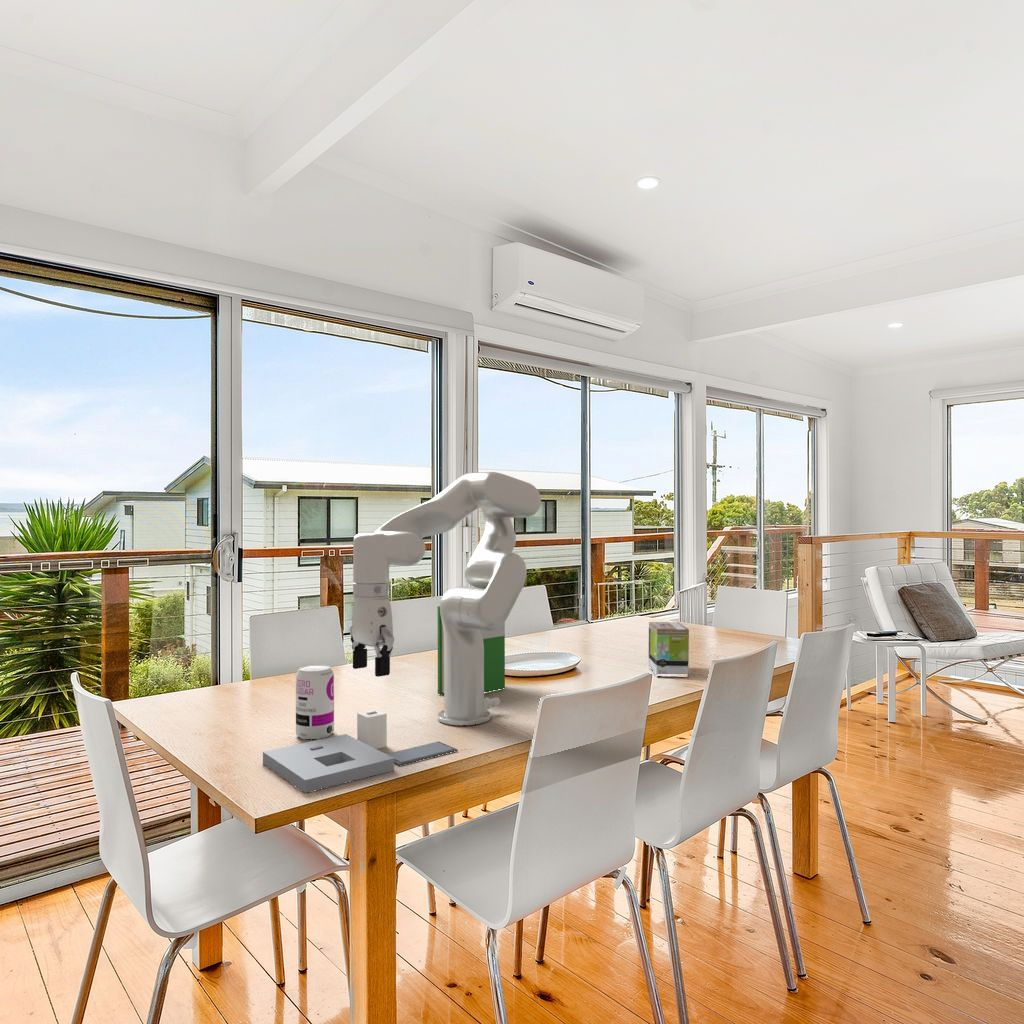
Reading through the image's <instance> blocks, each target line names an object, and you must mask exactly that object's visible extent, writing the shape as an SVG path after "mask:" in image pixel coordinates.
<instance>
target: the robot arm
mask: <svg viewBox="0 0 1024 1024" xmlns="http://www.w3.org/2000/svg"><path fill="white" fill-rule="evenodd" d="M541 498H542V497H541V495H540V492H539V490H538V489H537V487H536V486H534V485H533V484H532V483H530V482H527V481H525V480H521V479H519V478H516V477H513V476H510V475H507V474H504V473H501V472H497V471H482V472H480V471H479V472H468V473H465V474H463V475H461V476H459V478H457V479H456V480H454V481H453V482H452V483H450V484H449V485H448V486H447V487H445V488H444V489H443V490H442V491H440V492H439V493H438V494H435V496H434V497H432V498H431V499H429V500H428V501H425V502H423V503H420V504H418V505H417V506H415V507H413V508H411V509H408V510H406V511H405V512H402V513H400V514H398V515H396V516H394V517H392V518H391V519H390V520H388V521H386V523H384V524H382V526H380V527H379V528H377V530H375V531H374V532H361V533H357V534H355V536H354V537H353V539H352V541H353V542H352V544H353V545H352V547H353V548H352V550H353V551H352V555H353V556H352V558H353V559H352V567H353V568H352V569H353V570H352V573H353V574H352V576H353V577H352V578H353V579H352V590H353V591H352V599H354V600H353V608H352V620H351V621H352V623H351V626H350V627H349V634H350V642H351V650H352V669H354V670H357V669H364V668H368V648H366V646H367V647H370V648H371V647H372V648H374V651H375V654H376V656H375V657H374V676H375V677H377V678H378V677H385V676H389V675H390V673H391V656H392V651H393V650H394V647H393V645H394V643H395V637H394V631H393V630H394V628H393V624H394V623H393V613H392V606H391V601H390V600H391V599H390V566H399V567H409V566H414V565H416V564H418V563H419V562H421V561H422V559H423V558H424V556H425V554H426V544H425V541H424V540H423V538H427V537H432V536H436V535H440V534H441V535H442V534H444V533H447V532H449V531H452V530H453V529H454V528H456V527H457V525H459V524H460V523H461V522H463V521H464V520H465V519H466V518H468V516H470V515H472V513H474V512H475V511H476V510H477V509H480V508H481V512H482V514H483V515H482V516H483V520H484V532H483V534H482V536H481V537H480V540H479V543H478V544H477V546H476V548H475V550H474V551H473V553H472V555H471V556H470V559H469V560H468V563H466V564H467V565H466V567H465V570H464V578H465V581H466V582H467V583H468V584H469V585H470V586H471V587H470V586H455V587H451V588H449V589H448V590H447V591H445V592H444V594H443V595H442V597H441V599H440V601H439V603H440V604H439V606H440V615H441V620H442V625H443V632H444V695H443V696H444V697H443V699H444V702H443V703H444V704H443V705H444V707H443V708H444V709H442V710H441V711H440V712H439V713H437V720H438V721H439V722H441V723H443V724H445V725H450V726H459V727H460V726H461V727H462V726H463V725H466V726H475V724H476V725H480V724H484V723H486V722H488V721H489V720H490V719H491V712H490V711H489V710H488V709H490V708H491V707H496V706H499V705H500V704H501V700H500V698H499V697H493V698H489V697H485V694H484V643H483V638H482V635H481V632H480V630H489V631H490V630H496V629H498V628H499V627H501V626H502V625H503V624H504V622H506V621H507V619H508V618H509V615H510V614H511V613H512V609H513V608H514V605H515V604H516V601H517V600H518V598H519V595H521V594H520V593H521V592H522V590H523V588H524V586H525V582H526V578H527V565H526V562H525V560H524V558H522V557H521V555H519V554H518V553H516V552H514V549H515V546H516V543H517V536H516V535H517V534H516V532H515V529H514V526H513V523H512V518H516V519H518V518H519V519H520V518H521V519H523V518H524V519H527V518H531V517H533V516H535V515H536V514H537V513H538V512H539V510H540V507H541V504H542V503H541V502H542V499H541ZM479 629H480V630H479Z"/></svg>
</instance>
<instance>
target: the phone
mask: <svg viewBox="0 0 1024 1024" xmlns="http://www.w3.org/2000/svg"><path fill="white" fill-rule="evenodd" d="M454 751H459V749H458V748H455V747H453V746H451V745H448V744H446V743H443V742H441V741H439V740H438V741H434V742H431V743H426V744H423V745H418V746H414V747H410V748H405V749H402V750H396V751H393V752H389V753H386V754H387V755H389V756H391V757H393V758H394V763H395V764H397V765H398V766H397V765H396V766H397V767H401V766H400V765H403V766H405V765H404V764H407V765H410V764H409V763H411V764H413V763H412V762H415V763H417V762H416V761H419V760H423V759H427V758H431V757H434V758H436V757H435V756H438V755H442V754H446V753H450V752H454ZM454 753H455V752H454ZM450 754H451V753H450ZM446 755H447V754H446ZM442 756H443V755H442ZM438 757H439V756H438ZM431 759H432V758H431ZM427 760H428V759H427ZM423 761H424V760H423ZM419 762H420V761H419ZM395 764H394V765H395Z"/></svg>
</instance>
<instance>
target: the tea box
mask: <svg viewBox="0 0 1024 1024" xmlns="http://www.w3.org/2000/svg"><path fill="white" fill-rule="evenodd" d="M689 651H690V629H689V628H688V627H686V626H685V625H683V624H682V623H680V622H679V621H678V622H676V621H649V622H648V659H647V660H648V667H649V666H650V667H651V669H652V670H653V671H654V672H655V673H656V675H657V674H688V675H689V659H690V658H689ZM651 669H650V670H651ZM652 670H651V671H652ZM653 671H652V672H653ZM656 675H655V676H656Z"/></svg>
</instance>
